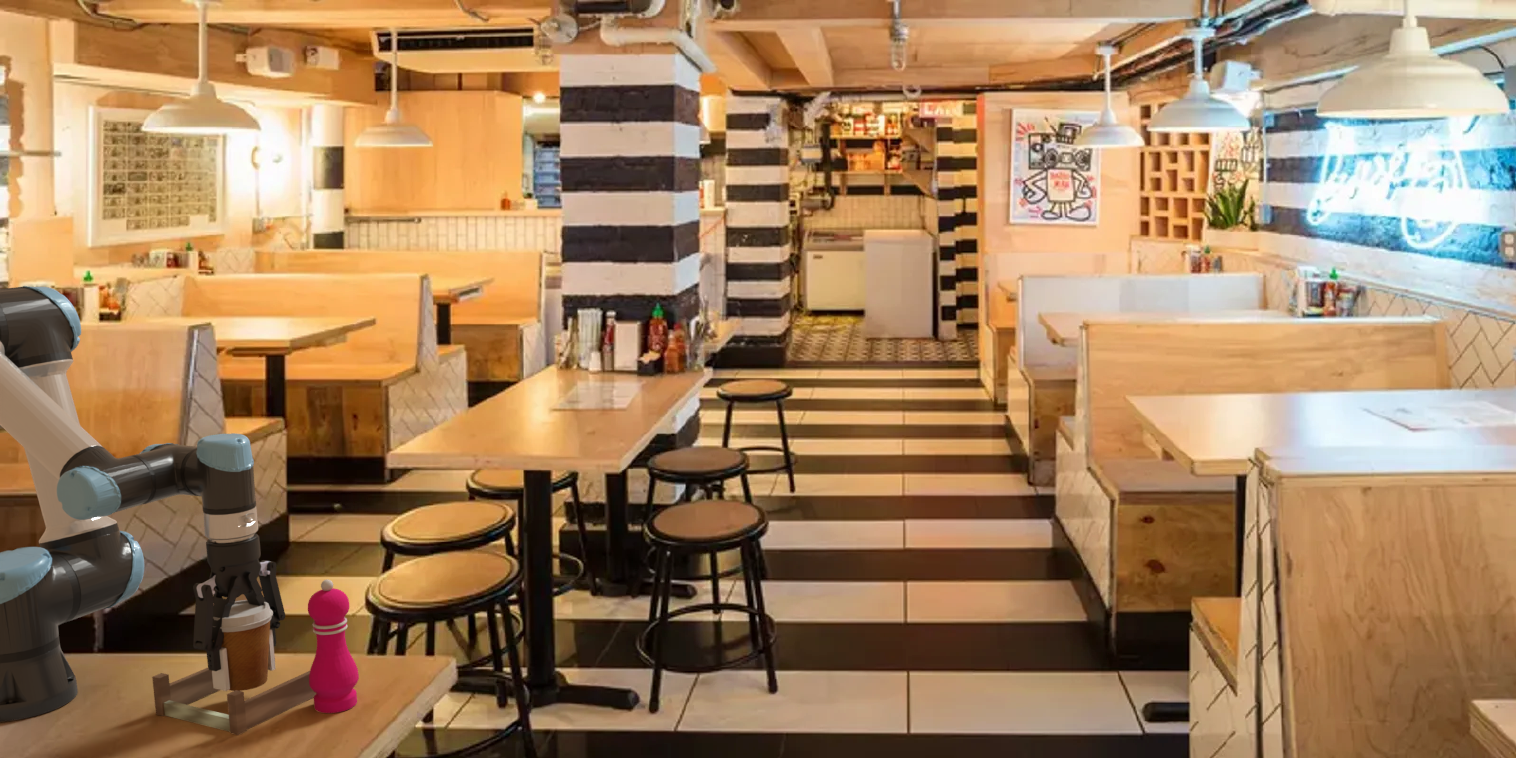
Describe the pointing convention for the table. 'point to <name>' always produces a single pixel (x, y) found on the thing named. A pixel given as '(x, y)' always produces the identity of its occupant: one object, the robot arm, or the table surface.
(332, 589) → the pepper mill
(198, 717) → the bay
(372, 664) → the table surface
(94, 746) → the table surface
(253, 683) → the disposable coffee cup
